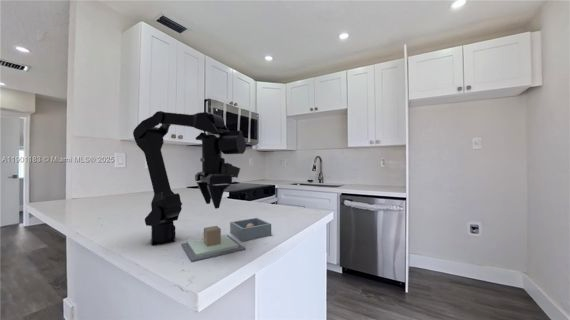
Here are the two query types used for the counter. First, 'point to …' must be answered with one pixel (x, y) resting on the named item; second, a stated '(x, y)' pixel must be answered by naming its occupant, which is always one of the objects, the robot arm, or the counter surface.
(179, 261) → the counter surface
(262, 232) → the dish
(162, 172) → the robot arm
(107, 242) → the counter surface
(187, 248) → the mat
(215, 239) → the lid
